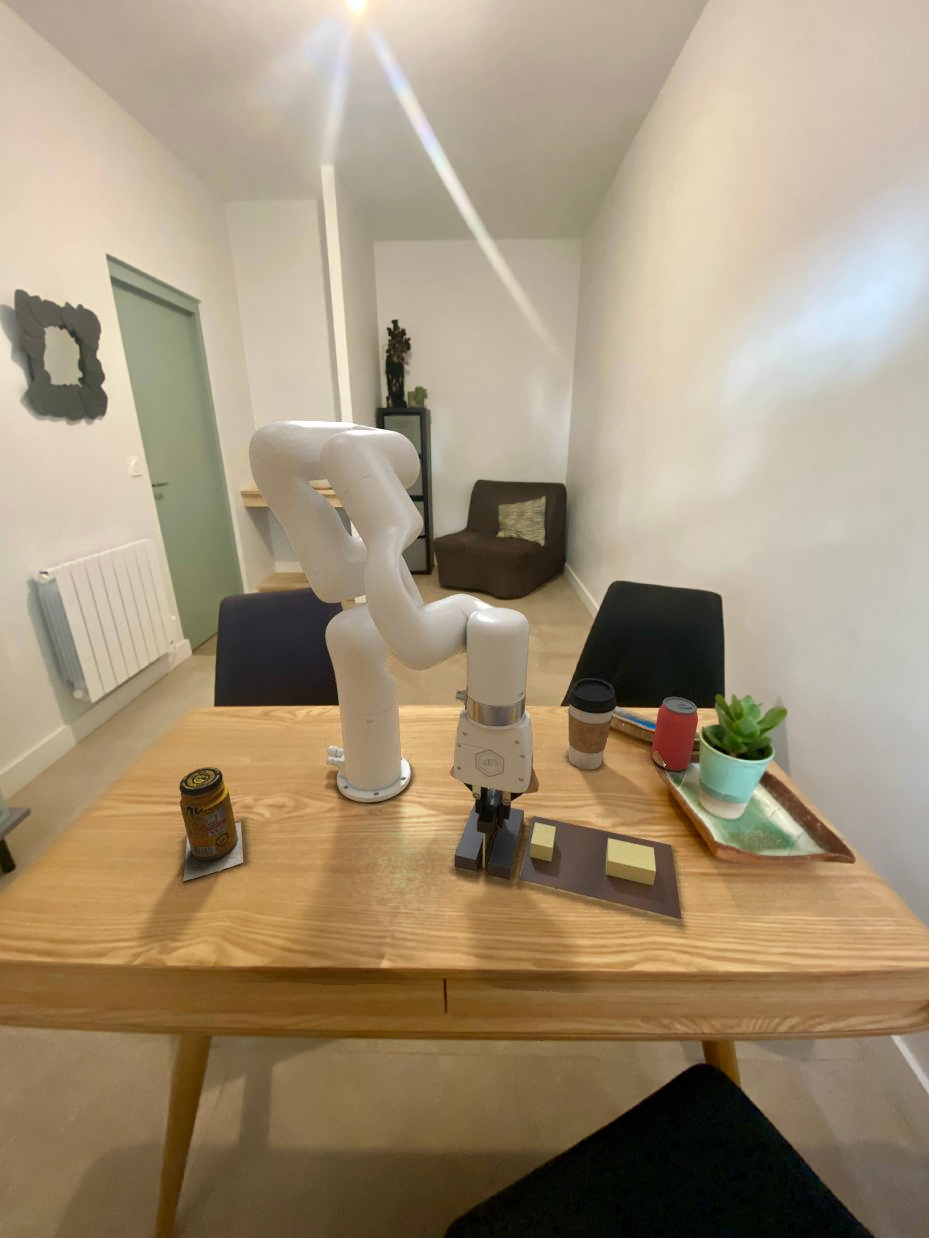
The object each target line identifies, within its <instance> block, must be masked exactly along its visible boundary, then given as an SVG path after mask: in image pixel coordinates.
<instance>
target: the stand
mask: <svg viewBox="0 0 929 1238" xmlns="http://www.w3.org/2000/svg"><path fill="white" fill-rule="evenodd" d="M478 817H479V813H475V803H474V804H473V806H472V809H471V812H470V815H469V816H468V820H467V822H466V824H465V827H464V830H463V833H462V835H461V838H460V839H459V843H458V845H457V848H456V851H455V853H454V867H456V868H460V869H463V870H466V871H467V870H468V871H470V872H471V871H472V872H475V873H476V872H477V869H478V866H479V863H480V861H481V857H482V855H483V833H481V832H477V820H478ZM524 821H525V810H524V809H519V808H515V807H511V811H510V817H509V820H507V819H505V820H504V824H503V827H502V828H499V827H497V830H496V833H495V837H494V840H493V843H492V847H491V850H490V853H489V857H488V860H487V875H488V876H491V877H496V878H500V879H503V880H506V881H510V879H511V876H512V871H513V867H514V863H515V858H516V855H517V850H518V846H519V843H520V842H519V841H520V838H521V835H522V829H523V825H524Z"/></svg>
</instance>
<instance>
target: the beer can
mask: <svg viewBox="0 0 929 1238" xmlns="http://www.w3.org/2000/svg"><path fill="white" fill-rule="evenodd" d="M698 714H699V713H698V707H697V705H696V704H695V703H694V702H692V701H691V700H689V699H687V698H684V697H678V696H670V697H666V698H664V699H663V700H662V704H661V705H660V706H659V708H658V711H657V716H656V723H655V729H654V732H653V740H652V745H651V752H650V758H651V759H652V761H653V762H654V758H653V752H654V751H655V750H656V751H658V753H659V755H661V757H662V759H663V761H664V763H665V764H666V766H665V768H664V770H667V771H673V772H679V771H680V772H681V771H684V770H685V769H688V768H689V765H690V762H691V758H692V753H693V748H694V742H695V738H696V734H697V728H698V724H699V715H698Z"/></svg>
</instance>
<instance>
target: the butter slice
mask: <svg viewBox="0 0 929 1238" xmlns="http://www.w3.org/2000/svg"><path fill="white" fill-rule="evenodd" d="M555 831H556V827H554V826H549V825H545V824H540V823H536V822H535V825H534V830H533V835H532V839H531V847H530V857H533V858H538V859H542V860H546V861H550V862H551V861H552V854H553V848H554V841H555Z"/></svg>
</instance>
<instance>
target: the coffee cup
mask: <svg viewBox="0 0 929 1238" xmlns="http://www.w3.org/2000/svg"><path fill="white" fill-rule="evenodd" d="M567 702H568V704H569V706H568V709H567V710H568V713H567V714H568V760H569V762H570V764H572V765H573V766H575V767H576V768H579V769H583V770H588V771H589V770H595V769H598V768H599V767H600V766H601V765H602V762H603V758H604V753H605V749H606V747H607V746H606V745H607V742H608V737H609V734H610V729H611V726H612V721H613V717H614V714H613V713H614V710H615V709H616V708H617V698H616V691H615V687H614V685H612V684H611V683H610V682H608V681H606V680H604V679H601V678H597V677H596V678H595V677H586V678H581V679H579V680H577V681H575V682H574V683H572V685H571V688H570V691H569V692H568V695H567Z"/></svg>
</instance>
